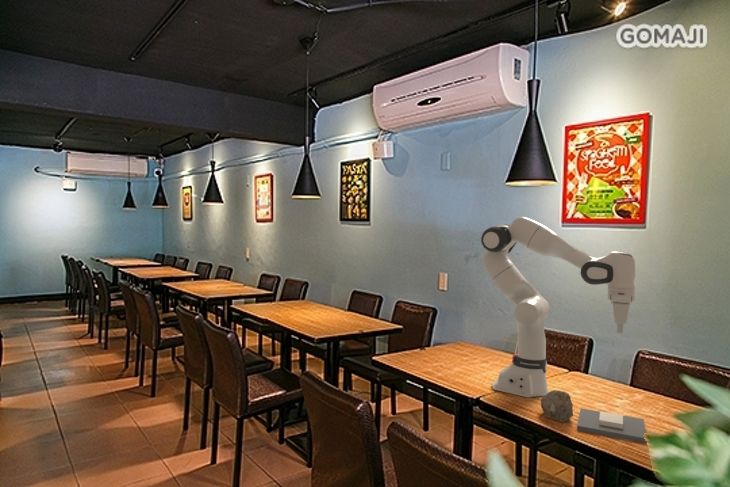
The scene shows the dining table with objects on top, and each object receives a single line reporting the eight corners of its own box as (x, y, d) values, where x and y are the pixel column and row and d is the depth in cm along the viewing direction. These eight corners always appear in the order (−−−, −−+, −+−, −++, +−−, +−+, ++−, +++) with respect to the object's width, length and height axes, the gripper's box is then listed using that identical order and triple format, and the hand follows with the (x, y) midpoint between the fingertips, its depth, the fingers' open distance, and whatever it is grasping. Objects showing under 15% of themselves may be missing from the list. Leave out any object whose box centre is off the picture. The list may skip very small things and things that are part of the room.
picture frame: (600, 416, 168) (599, 425, 160) (600, 411, 168) (599, 420, 160) (622, 420, 165) (622, 429, 157) (622, 415, 165) (623, 424, 157)
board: (576, 430, 160) (577, 425, 160) (580, 412, 176) (580, 408, 176) (646, 443, 151) (646, 438, 150) (643, 423, 166) (643, 419, 166)
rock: (528, 396, 174) (542, 385, 178) (539, 423, 174) (552, 411, 178) (560, 400, 162) (573, 388, 166) (571, 428, 162) (585, 416, 166)
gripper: (611, 291, 189) (610, 326, 189) (611, 297, 170) (610, 336, 171) (629, 293, 186) (628, 328, 186) (631, 299, 168) (630, 338, 168)
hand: (619, 332), depth 178 cm, fingers closed
